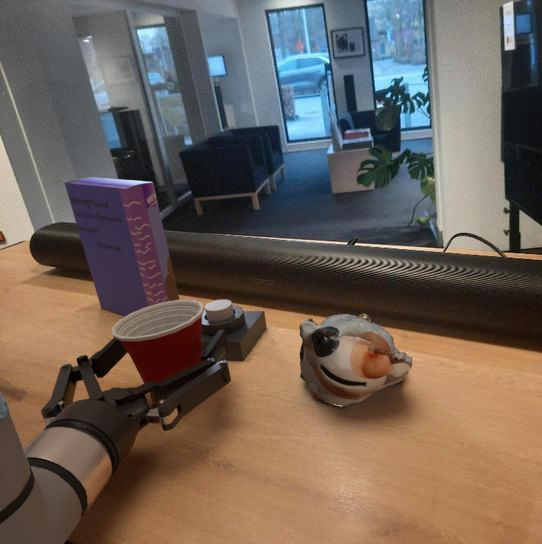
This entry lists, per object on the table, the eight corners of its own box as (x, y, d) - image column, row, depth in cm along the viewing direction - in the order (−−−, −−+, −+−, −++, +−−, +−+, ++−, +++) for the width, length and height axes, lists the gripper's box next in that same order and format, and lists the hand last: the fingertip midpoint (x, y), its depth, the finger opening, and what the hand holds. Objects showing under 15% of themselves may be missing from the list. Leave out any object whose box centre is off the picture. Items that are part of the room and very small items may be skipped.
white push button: (202, 322, 74) (200, 310, 73) (214, 310, 78) (211, 299, 77) (227, 323, 73) (225, 310, 73) (238, 311, 77) (236, 299, 76)
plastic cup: (179, 366, 71) (161, 291, 67) (237, 383, 67) (222, 302, 62) (114, 410, 63) (89, 327, 58) (176, 433, 58) (153, 343, 53)
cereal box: (183, 315, 87) (152, 180, 78) (160, 327, 84) (125, 187, 75) (124, 298, 96) (91, 175, 87) (101, 308, 93) (64, 181, 84)
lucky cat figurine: (419, 362, 68) (435, 302, 58) (387, 440, 61) (399, 388, 50) (321, 323, 71) (320, 260, 61) (280, 393, 64) (270, 335, 54)
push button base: (167, 358, 74) (160, 329, 72) (199, 326, 83) (193, 299, 81) (243, 361, 72) (237, 331, 70) (267, 328, 81) (262, 300, 79)
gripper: (-35, 486, 48) (91, 366, 68) (214, 487, 46) (270, 363, 65) (-65, 423, 45) (76, 317, 65) (198, 421, 43) (262, 312, 63)
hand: (173, 340), depth 65 cm, fingers open, 13 cm apart
